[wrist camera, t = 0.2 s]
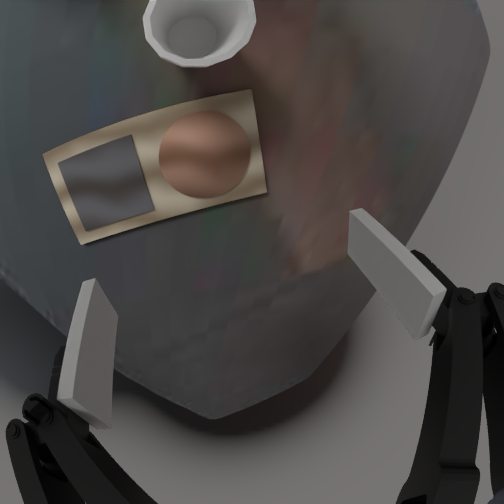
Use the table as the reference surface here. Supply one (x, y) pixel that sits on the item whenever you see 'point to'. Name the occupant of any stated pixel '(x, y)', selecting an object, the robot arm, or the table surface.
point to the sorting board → (159, 165)
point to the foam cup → (198, 29)
